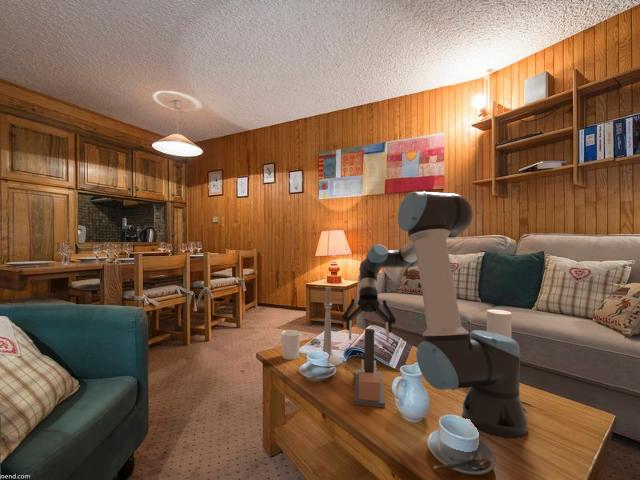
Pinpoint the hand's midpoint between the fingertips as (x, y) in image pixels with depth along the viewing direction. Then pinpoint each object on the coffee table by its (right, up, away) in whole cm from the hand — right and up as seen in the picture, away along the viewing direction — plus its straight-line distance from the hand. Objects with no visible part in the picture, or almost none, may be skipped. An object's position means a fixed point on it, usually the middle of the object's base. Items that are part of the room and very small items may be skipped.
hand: (368, 339), depth 110 cm
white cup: (-30, -12, +15) cm, 36 cm away
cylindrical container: (+42, -13, -9) cm, 45 cm away
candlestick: (-15, -13, +11) cm, 22 cm away
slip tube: (-2, -10, -14) cm, 17 cm away
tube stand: (-2, -12, -11) cm, 17 cm away
